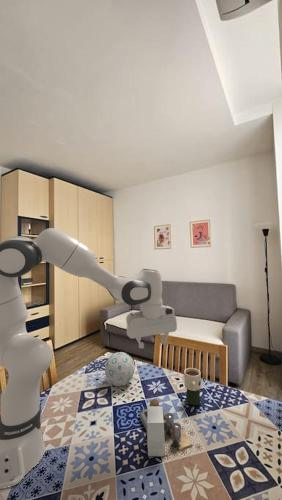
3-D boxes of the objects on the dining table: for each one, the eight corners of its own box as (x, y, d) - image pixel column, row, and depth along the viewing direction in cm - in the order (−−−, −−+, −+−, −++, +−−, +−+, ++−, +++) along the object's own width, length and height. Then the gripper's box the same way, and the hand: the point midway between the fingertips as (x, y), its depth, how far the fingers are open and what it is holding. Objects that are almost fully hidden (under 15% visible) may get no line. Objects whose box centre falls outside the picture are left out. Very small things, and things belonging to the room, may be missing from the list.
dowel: (152, 425, 80) (151, 406, 80) (148, 418, 83) (148, 400, 83) (161, 422, 81) (160, 403, 81) (157, 415, 84) (156, 398, 85)
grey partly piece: (148, 435, 76) (148, 428, 76) (139, 417, 85) (139, 411, 85) (171, 427, 79) (171, 420, 79) (160, 411, 88) (160, 404, 88)
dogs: (176, 451, 69) (176, 433, 70) (163, 428, 79) (162, 412, 79) (192, 445, 71) (191, 427, 72) (177, 424, 81) (176, 408, 81)
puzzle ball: (101, 379, 112) (101, 350, 112) (128, 372, 118) (127, 345, 119) (110, 396, 98) (109, 363, 98) (140, 387, 104) (139, 356, 105)
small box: (165, 457, 68) (164, 423, 68) (147, 456, 68) (146, 423, 68) (163, 435, 76) (162, 405, 76) (148, 435, 76) (147, 405, 76)
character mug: (203, 411, 87) (202, 379, 87) (186, 410, 88) (185, 378, 88) (199, 394, 98) (198, 365, 98) (184, 393, 98) (183, 365, 99)
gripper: (128, 315, 77) (129, 354, 76) (178, 309, 84) (179, 344, 83) (123, 311, 83) (124, 347, 82) (170, 305, 90) (171, 338, 89)
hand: (152, 345), depth 83 cm, fingers open, 8 cm apart
